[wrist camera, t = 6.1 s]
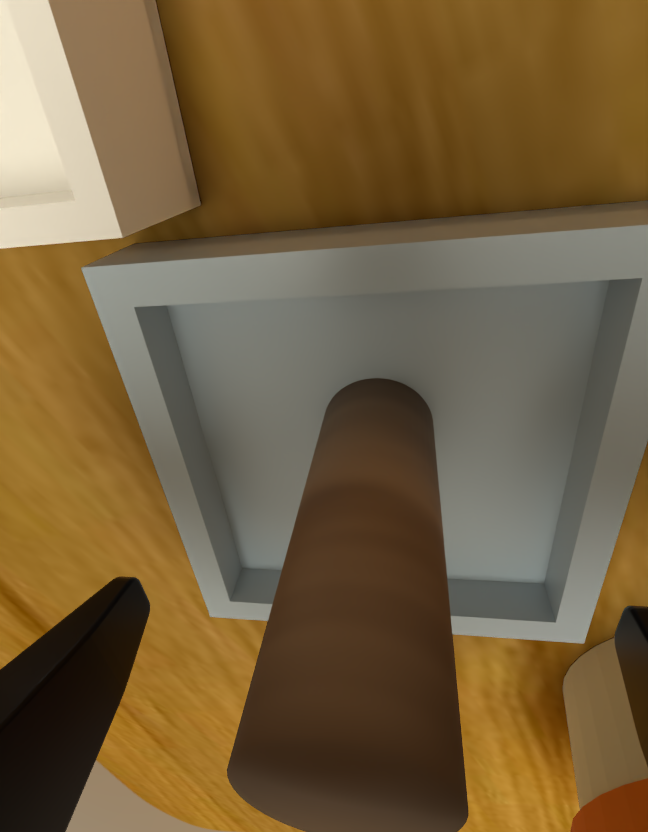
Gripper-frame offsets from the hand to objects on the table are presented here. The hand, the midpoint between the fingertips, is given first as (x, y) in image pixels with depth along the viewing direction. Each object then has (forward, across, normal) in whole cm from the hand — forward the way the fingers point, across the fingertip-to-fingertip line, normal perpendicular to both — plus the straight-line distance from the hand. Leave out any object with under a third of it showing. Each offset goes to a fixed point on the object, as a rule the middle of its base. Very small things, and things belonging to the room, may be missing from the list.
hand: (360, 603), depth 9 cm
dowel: (+6, 0, 0) cm, 6 cm away
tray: (+7, 0, +1) cm, 7 cm away
